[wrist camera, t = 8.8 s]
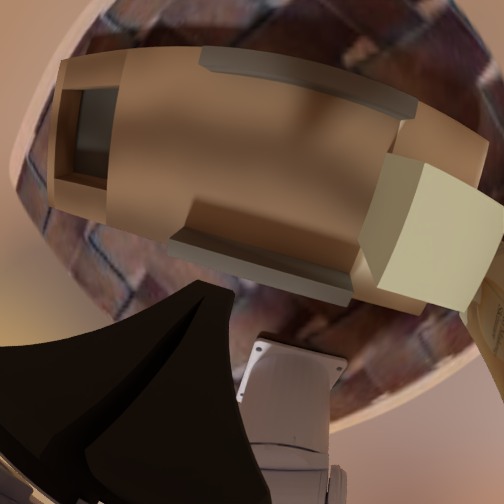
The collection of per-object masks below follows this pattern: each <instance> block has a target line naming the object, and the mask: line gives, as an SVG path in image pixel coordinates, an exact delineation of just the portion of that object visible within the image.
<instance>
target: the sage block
mask: <svg viewBox="0 0 504 504" xmlns="http://www.w3.org/2000/svg"><path fill="white" fill-rule="evenodd" d="M503 234H504V206H502V205H501V204H499V203H498V202H496V201H494V200H493V199H491V198H490V197H488V196H486V195H485V194H483V193H482V192H480V191H478V190H476V189H475V188H473V187H471V186H470V185H468V184H466V183H464V182H462V181H461V180H459V179H457V178H455V177H453V176H451V175H449V174H447V173H446V172H444V171H442V170H440V169H438V168H436V167H433V166H431V165H429V164H427V163H425V162H422V161H418V160H414V159H411V158H407V157H403V156H399V155H395V154H391V153H386V156H385V160H384V163H383V166H382V170H381V173H380V176H379V180H378V183H377V186H376V189H375V192H374V195H373V198H372V201H371V204H370V207H369V210H368V213H367V216H366V219H365V221H364V224H363V227H362V230H361V232H360V235H359V238H358V242H359V245H360V247H361V249H362V252H363V254H364V256H365V259H366V261H367V264H368V266H369V269H370V271H371V274H372V276H373V279H374V282H375V284H376V287H377V288H380V289H383V290H387V291H390V292H394V293H397V294H401V295H404V296H408V297H411V298H415V299H418V300H422V301H425V302H429V303H432V304H436V305H439V306H443V307H446V308H450V309H453V310H457V311H460V312H465V311H466V309H467V307H468V306H469V304H470V302H471V301H472V299H473V297H474V295H475V293H476V292H477V290H478V288H479V286H480V284H481V282H482V280H483V278H484V276H485V274H486V272H487V270H488V268H489V266H490V264H491V262H492V260H493V258H494V255H495V253H496V251H497V248H498V246H499V244H500V241H501V239H502V236H503Z"/></svg>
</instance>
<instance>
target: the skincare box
mask: <svg viewBox="0 0 504 504" xmlns="http://www.w3.org/2000/svg"><path fill="white" fill-rule="evenodd" d="M460 318H461V319H462V321H463V323H464V324H465V326H466V328H467V329H468V331H469V333H470V335H471V336H472V338H473V340H474V342H475V343H476V345H477V347H478V349H479V351H480V353H481V355H482V357H483V359H484V361H485V362H486V364H487V367H488V368H489V370H490V373H491V375H492V377H493V379H494V381H495V383H496V386H497V388H498V390H499V392H500V395H501V398H502V400H503V402H504V242H503V241H502V240H501V241H500V244H499V246H498V248H497V251H496V253H495V255H494V258H493V260H492V262H491V264H490V266H489V268H488V270H487V272H486V274H485V276H484V278H483V280H482V282H481V284H480V286H479V288H478V290H477V292H476V293H475V295H474V297H473V299H472V301H471V302H470V304H469V306H468V307H467V309H466V311H465V312H460Z"/></svg>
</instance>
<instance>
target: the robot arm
mask: <svg viewBox="0 0 504 504" xmlns="http://www.w3.org/2000/svg"><path fill="white" fill-rule="evenodd" d="M234 298H235V293H234V292H233V290H229V289H226V288H223V287H220V286H216V285H213V284H210V283H207V282H204V281H201V280H196V281H194V282H192V283H191V284H189V285H187V286H186V287H184V288H182V289H181V290H179V291H177V292H175V293H174V294H172V295H170V296H169V297H167V298H165V299H163V300H162V301H160V302H158V303H156V304H154V305H153V306H151V307H149V308H147V309H145V310H143V311H141V312H139V313H137V314H135V315H133V316H130V317H128V318H126V319H124V320H122V321H119V322H117V323H114V324H112V325H109V326H106V327H104V328H101V329H98V330H96V331H92V332H88V333H85V334H81V335H78V336H74V337H71V338H67V339H62V340H57V341H52V342H46V343H41V344H33V345H24V346H5V347H0V456H1V457H2V458H3V459H4V460H5V461H6V462H7V463H8V464H9V465H10V466H11V467H12V468H13V469H14V470H15V471H14V470H13V469H12V468H11V467H10V466H8V465H7V464H6V463H4V462H3V461H2V460H1V459H0V504H43V503H42V502H41V501H39V500H38V499H37V498H35V497H34V496H33V495H31V494H32V493H33V488H32V487H31V486H30V485H29V484H28V483H27V482H29V483H30V484H31V485H32V486H33V487H34V488H36V489H37V490H38V491H39V492H41V493H42V494H43V495H44V496H46V497H47V498H48V499H50V500H51V501H52V502H54V503H55V504H98V502H99V501H100V502H102V503H104V504H346V495H347V474H346V472H345V471H344V470H343V469H340V466H339V465H331V473H330V478H329V484H328V492H327V483H328V469H329V468H328V466H329V454H328V446H329V420H330V390H331V388H332V387H333V385H334V384H335V383H336V381H337V380H338V378H339V377H340V375H341V374H342V373H343V371H344V370H345V368H346V367H347V360H346V359H344V358H340V357H335V356H331V355H326V354H322V353H318V352H313V351H309V350H305V349H301V348H297V347H293V346H289V345H286V344H282V343H278V342H274V341H271V340H267V339H264V338H257V339H256V340H255V343H254V346H253V349H252V352H251V355H250V358H249V361H248V364H247V367H246V370H245V373H244V376H243V379H242V382H241V384H240V387H239V390H238V393H237V396H236V393H235V389H234V383H233V377H232V371H231V363H230V352H229V320H230V315H231V311H232V306H233V302H234ZM257 347H260V348H257ZM337 367H340V368H337ZM237 401H238V402H241V405H240V408H239V406H238V403H237ZM17 472H18V473H19V474H20V475H21V476H20V475H19V474H18V473H17ZM26 481H27V482H26Z"/></svg>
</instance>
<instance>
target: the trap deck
mask: <svg viewBox="0 0 504 504" xmlns="http://www.w3.org/2000/svg"><path fill="white" fill-rule="evenodd" d="M488 145H489V142H488V141H487V140H486V139H484V138H483V137H481V136H480V135H478V134H477V133H475V132H474V131H472V130H470V129H469V128H467V127H466V126H464V125H462V124H461V123H459V122H457V121H456V120H454V119H452V118H450V117H449V116H447V115H445V114H443V113H442V112H440V111H438V110H436V109H434V108H432V107H430V106H428V105H426V104H424V103H422V102H420V101H419V99H417V98H415V97H413V96H411V95H409V94H406V93H404V92H402V91H400V90H397V89H395V88H393V87H390V86H388V85H385V84H383V83H380V82H378V81H375V80H372V79H370V78H367V77H364V76H361V75H358V74H355V73H352V72H349V71H346V70H343V69H339V68H336V67H332V66H329V65H325V64H322V63H318V62H314V61H310V60H305V59H301V58H296V57H292V56H287V55H282V54H276V53H270V52H264V51H257V50H250V49H241V48H232V47H220V46H203V47H187V46H172V47H146V48H133V49H123V50H114V51H107V52H100V53H94V54H88V55H83V56H78V57H73V58H69V59H65V60H61V63H60V67H59V71H58V76H57V81H56V86H55V92H54V98H53V105H52V112H51V120H50V130H49V143H48V164H47V193H48V206H49V207H52V208H55V209H58V210H61V211H64V212H67V213H70V214H73V215H76V216H79V217H82V218H86V219H89V220H92V221H95V222H98V223H101V224H104V225H107V226H110V227H113V228H117V229H120V230H123V231H126V232H129V233H132V234H135V235H139V236H142V237H145V238H148V239H151V240H155V241H158V242H161V243H164V244H168V252H167V255H169V256H172V257H175V258H178V259H181V260H185V261H188V262H191V263H194V264H197V265H201V266H204V267H207V268H210V269H214V270H217V271H220V272H223V273H227V274H230V275H233V276H237V277H240V278H243V279H247V280H250V281H254V282H257V283H260V284H264V285H267V286H271V287H274V288H278V289H281V290H285V291H288V292H292V293H295V294H299V295H303V296H306V297H310V298H313V299H317V300H321V301H324V302H328V303H332V304H336V305H339V306H343V307H347V306H348V304H349V302H350V300H351V298H354V299H357V300H361V301H365V302H368V303H372V304H376V305H380V306H383V307H387V308H391V309H395V310H399V311H402V312H406V313H410V314H414V315H418V316H420V314H421V313H422V311H423V309H424V308H425V306H426V304H427V302H425V301H422V300H418V299H415V298H411V297H408V296H404V295H401V294H397V293H394V292H390V291H387V290H383V289H380V288H377V287H376V284H375V282H374V279H373V276H372V274H371V271H370V269H369V266H368V264H367V261H366V259H365V256H364V254H363V252H362V249H361V247H360V245H359V242H358V238H359V235H360V232H361V230H362V227H363V224H364V221H365V219H366V216H367V213H368V210H369V207H370V204H371V201H372V198H373V195H374V192H375V189H376V186H377V183H378V180H379V176H380V173H381V170H382V166H383V163H384V160H385V156H386V153H391V154H395V155H399V156H403V157H407V158H411V159H414V160H418V161H422V162H425V163H427V164H429V165H431V166H433V167H436V168H438V169H440V170H442V171H444V172H446V173H447V174H449V175H451V176H453V177H455V178H457V179H459V180H461V181H462V182H464V183H466V184H468V185H470V186H471V187H473V188H475V189H476V190H477V187H478V184H479V181H480V177H481V174H482V170H483V166H484V162H485V158H486V154H487V150H488Z"/></svg>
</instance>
